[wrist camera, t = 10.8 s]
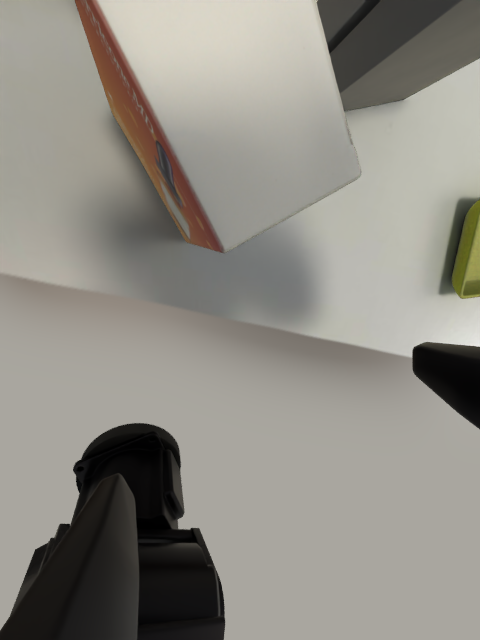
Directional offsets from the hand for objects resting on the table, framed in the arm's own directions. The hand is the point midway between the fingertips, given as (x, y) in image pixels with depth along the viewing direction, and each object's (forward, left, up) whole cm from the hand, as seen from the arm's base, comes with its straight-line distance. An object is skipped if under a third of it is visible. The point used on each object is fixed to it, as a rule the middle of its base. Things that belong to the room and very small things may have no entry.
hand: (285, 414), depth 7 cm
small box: (+2, +9, -13) cm, 16 cm away
